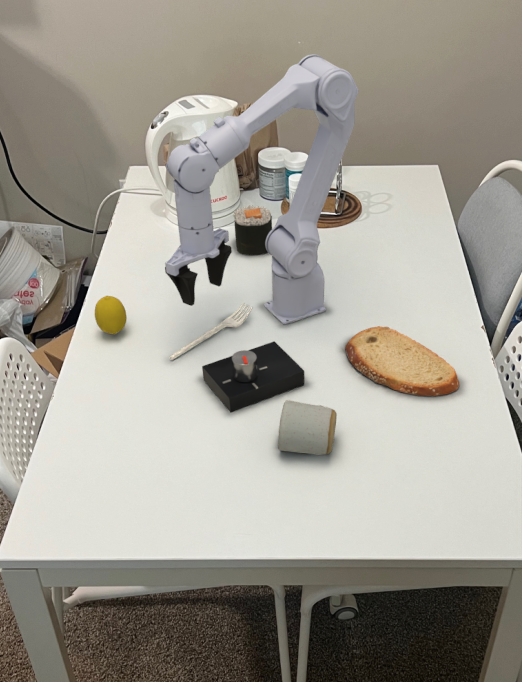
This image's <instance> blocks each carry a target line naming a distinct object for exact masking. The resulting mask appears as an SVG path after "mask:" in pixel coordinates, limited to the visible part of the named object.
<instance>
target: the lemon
mask: <svg viewBox="0 0 522 682" xmlns="http://www.w3.org/2000/svg"><path fill="white" fill-rule="evenodd" d="M94 307H95V308H94V319H95V322H96V325H97V327H98V328H99V329H100V330H101V331H102V332H104V333H105V334H110V335H116V334H117V333H119V332H121V331H122V330H123V329H124V328H125V326H126V325H127V312H126V311H127V310H126V308H125V306H124V305H123V303H122V301H121V300H120V299H119V298H117V297H115V296H113V295H105V296H102V297H101V298H100V299H98V301H97V302H96V304H95V306H94Z"/></svg>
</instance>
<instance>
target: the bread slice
mask: <svg viewBox="0 0 522 682" xmlns="http://www.w3.org/2000/svg"><path fill="white" fill-rule="evenodd" d="M344 351H345V352H346V355H347V359H348V361H349V362H350V363H351V365H352V366H353V367H354V368H355V370H357V371H358V372H360V373H361V374H362V375H363V376H365V377H366V378H368V379H369V380H371V381H373V382H374V383H376V384H379V385H383V386H386V387H388V388H389V389H391V390H393V391H396V392H399V393H403V394H409V395H412V396H413V395H414V396H420V397H438V396H445V395H449V394H451V393H453V392H457V390H458V389H459V387H460V380H459V378H458V374H457V371H456V370H455V368H454V367H453V366H452V365H451V364H450V363H448V361H446V359H444V358H442V356H441V357H440V356H439V355H438V353H436V352H434V351H432V350H431V349H430V348H428V347H427V346H425V345H423V344H421V343H420V342H417V341H416V340H415V339H412V338H411V337H409V336H407V335H405V334H404V333H401V332H399V331H397V330H396V329H393V328H390V327H389V326H380V325H379V326H373V327H369V328H366V329H363V330H360V331H359V332H357V333H356V334H354V335H353V336H352V337H351V338H350V339H349V340H348V341H347V343H346V344H345V346H344Z"/></svg>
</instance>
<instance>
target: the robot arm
mask: <svg viewBox="0 0 522 682" xmlns="http://www.w3.org/2000/svg"><path fill="white" fill-rule="evenodd" d="M359 91H360V90H359V88H358V87H357V83H356V82H355V80H354V78H353V76H352V74H351V73H350V72H349V71H348V70H346V69H344V68H341V67H339V66H337V65H335V64H333V63H332V62H331V61H328V60H326V59H325V58H324V57H323V56H321V55H319V54H315V53H313V54H307V55H305V56H304V57H302V58H301V59H300V61H298V63H295V64H293V65H291V66H290V67H289V68H288V69H287V71H286V73H285V74H284V75H283V77H282V78H281V79H280V80H279V81H277V82H276V84H274V85H273V86H272V87H271V88H269V89H268V90H267V91H266V92H265V93H264V94H262V96H260V97H259V98H257V100H255V101H254V102H253V103H252V104H251V105H250V106H248V108H247V109H245V110H244V111H242V112H241V114H239V115H238V116H235V115H225V116H224V117H221V116H218V117H217V118H216V119H214V120H213V125H212V126H210V127H209V128H207V130H206V131H204V132H203V133H201V134H200V135H198V136H197V137H193V138H191V139H190V140H189V144H188V143H185V144H179V145H178V146H176V147H174V149H172V151H171V152H170V154H169V156H168V158H167V162H166V163H165V168H166V171H167V172H168V174H169V175H170V176H171V177H172V178H173V188H174V202H175V209H176V219H177V226H178V236H179V244H180V245H179V247H177V248H176V250H175V252H174V253H173V254H172V256H171V257H170V258H169V259H168V260H167V261H166V262H165V263H164V266H165V267H164V273H165V274H166V275H167V277H168V278H169V279H170V280H171V281H172V283H173V284H174V286H175V287H176V290H177V292H178V294H179V296H180V298H181V301H182V303H183V304H185V305H187V306H190V307H192V306H194V305H195V303H196V295H195V294H196V293H195V289H196V288H195V286H196V282H197V277H198V275H199V273H197V272H195V271H192V270H191V268H190V267H189V265H190V264H192V263H195V262H198V261H201V260H205V264H206V269H207V270H206V271H207V277H208V281H209V284H211V285H213V286H216V287H221V286H222V283H223V278H224V272H225V270H226V269H225V268H226V266H227V264H228V263H227V262H228V260H229V258H230V256H231V254H232V253H233V249H232V246H231V245H228V244H227V243H229V242H230V234H229V230H227V229H223V228H220V227H219V228H217V229H215V230H214V220H213V208H212V207H213V206H212V195H211V188H210V187H211V186H212V185H213V183H214V181H215V177H216V175H217V173H218V172H219V173H220V170H221V169H222V168H224V167H225V166H227V165H228V164H229V163H230V162H232V161H233V160H234V159H236V158H237V157H239V155H241V154H242V153H243V152H245V151H246V150H248V148H249V147H250V143H251V138H252V136H253V135H256V133H258V132H260V131H261V130H263V129H264V128H265V127H267V126H268V125H270V124H271V123H274V122H275V121H276V120H277V119H279V118H281V117H282V116H283V115H285V114H286V113H288V112H290V111H291V110H292V109H298V110H309V111H313V113H314V114H315V117H316V119H317V120H318V123H319V125H318V128H317V130H316V133H315V136H314V139H313V141H312V144H311V147H310V150H309V152H308V155H307V158H306V161H305V163H304V167H303V169H302V173H301V175H300V178H299V181H298V183H297V187H296V189H295V192H294V193H293V197H292V200H291V203H290V206H289V208H288V211H287V212H286V213H284V214H282V215H280V216H278V217H277V220H276V222H275V224H274V226H273V227H272V230H271V231H270V232H269V234H268V235H267V238H266V241H265V246H266V250H267V252H268V253H267V254H269V255H270V256H271V292H272V294H271V295H272V297H271V298H272V299H271V300H269V301H267V302H264V303H263V306H264V308H265V309H267V311H269V313H271V314H272V315H273V316H274V317H275V318H276V319H277V320H278V321H279V322H280V323H281V324H282V325H289V324H291V323H294V322H297V321H300V320H303V319H305V318H309V317H312V316H315V315H318V314H321V313H324V312H326V311H327V308H326V307H325V275H324V272H323V269H322V266H321V265H320V263H318V258H319V257H318V256H319V255H318V250H319V246H320V243H321V238H320V233H319V229H318V223H319V222H318V221H319V219H320V217H321V215H322V212H323V208H324V206H325V204H326V201H327V199H328V196H329V193H330V190H331V188H332V186H333V182H334V180H335V177H336V175H337V172H338V170H339V167H340V165H341V163H342V159H343V157H344V155H345V151H346V148H347V146H348V144H349V141H350V139H351V135H352V133H353V130H354V127H355V124H356V105H355V104H356V100H357V97H358V94H359Z"/></svg>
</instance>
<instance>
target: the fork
mask: <svg viewBox="0 0 522 682" xmlns="http://www.w3.org/2000/svg"><path fill="white" fill-rule="evenodd" d="M253 308H254V307H253V306H251V307H250V305H248V304H247V303H245V302H243V303H242V304H241V305H240V306H239V307H238V308H237V309H236V310H235V311H234V312H233V313H232V314H231V315H229V316H228V317H226V318H225V319H223V320H222V321H221V322H220V323H218V324H217V325H216V326H214V327H212V328H211V329H209V330H208V331H206V332H204V333H203V334H202V335H200V336H199V337H197V338H196V339H194V340H192V341H191V342H190V343H188V344H187V345H185V346H184V347H182V348H180V349H179V350H177V351H176V352H174V353H172V354H171V355H170V356H169V360H171V361H173V360H175V359H177V358H178V357H180V356H181V355H183V354H185V353H186V352H188V351H190V350H191V349H193V348H194V347H196V346H197V345H199V344H201V343H202V342H204V341H205V340H207V339H208V338H211V337H212V336H214V335H215V334H216V333H219V332H220V331H221V330H222V329H224V328H226V327H227V328H239V327H240V326H241V325H243V323H245V321H246V320H247V318H248V317H249V315H250V314H251V312H252V310H253Z"/></svg>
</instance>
